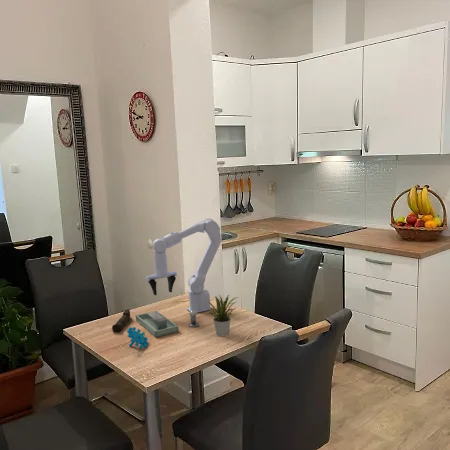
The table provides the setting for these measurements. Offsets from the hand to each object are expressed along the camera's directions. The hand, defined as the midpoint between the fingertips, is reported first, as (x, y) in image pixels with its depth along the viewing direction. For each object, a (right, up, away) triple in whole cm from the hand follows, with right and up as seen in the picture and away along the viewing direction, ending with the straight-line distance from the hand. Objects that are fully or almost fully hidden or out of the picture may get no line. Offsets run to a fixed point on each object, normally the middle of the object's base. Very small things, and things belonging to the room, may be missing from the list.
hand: (162, 293), depth 213 cm
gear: (-5, -16, -35) cm, 38 cm away
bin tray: (-1, -12, -14) cm, 19 cm away
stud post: (+16, -12, -16) cm, 25 cm away
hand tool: (-16, -13, -11) cm, 23 cm away
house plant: (+29, -13, -27) cm, 42 cm away
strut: (-1, -12, -14) cm, 19 cm away
